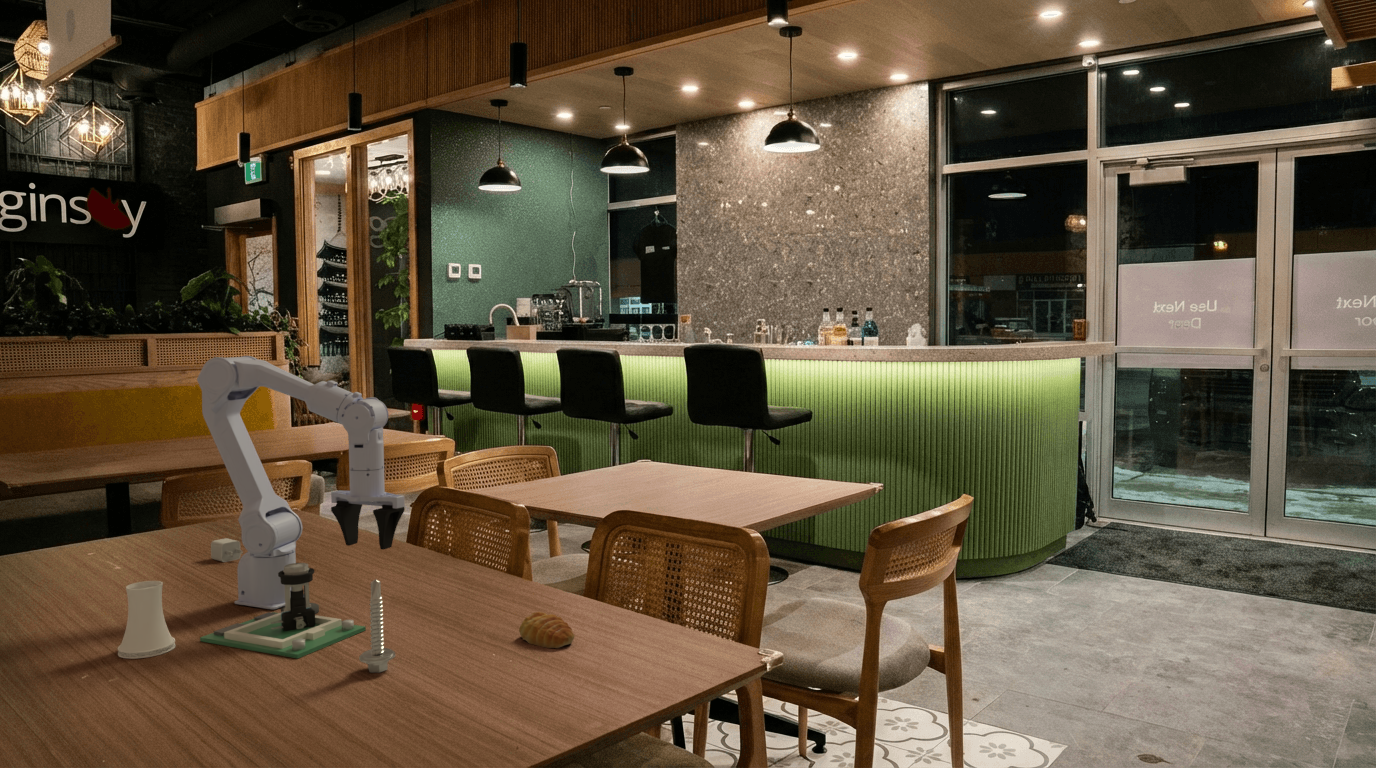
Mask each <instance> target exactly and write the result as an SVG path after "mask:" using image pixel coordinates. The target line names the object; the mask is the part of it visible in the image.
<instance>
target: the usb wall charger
mask: <svg viewBox="0 0 1376 768" xmlns="http://www.w3.org/2000/svg"><path fill="white" fill-rule="evenodd" d="M243 553H244V552H243V550H241V541H239V540H235V539H231V538H226V537H225V538H221V539H214V540H212V541H211V542H210V557H211V559H212V560H215V561H219V562H222V563H228V562H232V561H236V560H240V559H241V557H242V555H244V554H243Z"/></svg>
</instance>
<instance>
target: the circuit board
mask: <svg viewBox="0 0 1376 768" xmlns="http://www.w3.org/2000/svg"><path fill="white" fill-rule="evenodd" d="M283 612H286V611H283ZM281 613H282V612H281V611H280V612H276V611H275V612H274V611H273V612H266V613H263V614H261V615H257V616H254V618H253V619H249V620H247V621H243V622H240V623H239V622H238V623H233V624H230V625H228V626H225V627H222V628H219V629H217V630H214V631H213V632H212V633H208V634H206V635H203V636H201V637H199V640H200V642H201V643H202V642H203V643H209V644H215V645H220V646H225V647H230V648H235V649H236V648H237V649H243V650H246V651H248V650H249V651H253V652H258V653H259V652H260V653H263V654H264V653H265V654H271V655H277V656H282V657H286V658H287V657H288V658H293V659H300V658H303V657H305V656H307V655H309V654H312V653H314V652H317V651H319V650H322V649H324V648H326V647H329V646H332V645H334V644H336V643H338V642H341V641H343V640H345V639H348V638H350V637H353V636H355V635H358V634H360V633H362V632H364V631H366V630H367V629H366V627H367V626H364V625H359V624H358V625H357V624H355V623H354V619H344V620H342V619H341V618H336V617H329V616H323V615H318V614H315V626H314V627H306V628H302V629H295V630H290V631H284V630H283V629H282V628H280V629H273V630H272V629H271V628H274V627H278V626H281V623H276V622H275V621H279V620H281ZM271 622H274V623H275V624H271Z"/></svg>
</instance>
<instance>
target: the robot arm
mask: <svg viewBox="0 0 1376 768" xmlns="http://www.w3.org/2000/svg"><path fill="white" fill-rule="evenodd" d="M196 380H197V383H198V385H199V388H200V389H201V400H202V401H201V402H202V403H201V407H202V408H201V409H202V410H201V411H202V416H203V419H204V422H205V423H206V426H207V428H208V430H209V432H210V433H209V434H210V435H211V437H212V438H213V442H214V444H215V445H216V448H217V450H218V453H219V455H220V457H221V459H222V462H223V464H224V466H225V468H226V471H227V472H228V476H229V477H230V480H231V482H232V484H233V486H234V489H235V491H236V494H237V495H238V497H239V500H240V502H241V504H242V510H241V511H240V514H239V516H238V520H237V521H238V523H239V525H240V528H241V542H242V545H243V547H244V548H245V550H246V551H247V552H245V553H244V554H242V555H241V557H240V559H239V562H238V564H237V570H236V571H237V594H238V599H237V600H235V601H233V602H234V604H235V605H240V606H248V607H254V608H260V609H267V610H277V609H280V608H283V607H285V585H284V584H281V579H280V577H279V576H278V573H279V572H280V571H283V570H284V566H285V565H288V564H292V563H297V560H296V559H297V557H296V548H297V541H298V540H299V539H300V537H301V536H302V533H303V522H302V519H301V517H299V514H297V513H295V512H294V511H293V510H292V508H291V506H290V505H289V503H288V501H287V500H286V499H284V498H283V497H281V496H279V495H278V494H277V493H276V492H275V491H274V489H273V486H272V483H271V481H270V479H269V477H268V474H267V473H266V470H265V468H264V465H263V464H262V461H261V459H260V457H259V455H258V453H257V450H256V447H255V445H254V443H253V441H252V438H251V437H250V434H249V432H248V429H247V428H246V425H245V423H244V421H243V419H242V416H241V412H242V410H243V408H244V405H245V403H246V401H247V400H248V399H249V398H250V397H251V396H253V394H254V393H255V392H256V391H257V390H258V389H259V388H260V387H263V388H267V389H270V390H272V391H275V392H279V393H280V394H283V395H286V396H290V397H291V398H294V399H298V400H300V401H302V402H305V405H306V407H307V409H308V411H309V412H311V413H313V414H315V415H318V416H321V417H323V418H325V419H328V420H331V421H333V422H335V423H337V424H340V425H342V427H343V428H344V430H345V431H346V433H347V438H348V439H347V440H348V462H349V463H348V467H349V471H348V472H349V490H335V491H334V490H333V491H331V494H330V495H331V498H330V499H331V504H335V505H334V506H331V508H330V511H331V513H332V514H333V516H334V517H335V519H336V521H337V522H338V525H339V528H340V529H341V532H342V535H343V539H344V542H345V546H347V547H348V546H353V545H355V544H356V545H357V544H358V542H359V541H358V539H359V521H360V516H361V510H362V507H363V505H364V506H375V507H379V508H376V509H373V510H372V513H373V515H374V518H375V522H376V525H377V530H378V544H379V549H380V550H386V549H390V548H392V546H393V542H394V538H395V534H396V530H397V527H398V524H399V522H400V520H401V518H402V516H403V514H404V513H405V506H406V505H405V501H406V500H405V499H406V498H405V495H404V494H403V495H401V494H397V493H396V494H395V493H393V492H387V491H386V488H385V448H384V446H385V444H384V443H385V442H384V427H385V426H386V424H387V423H388V420H389V410H388V407H387V406H386V404H385V403H384V402H383V401H381V400H379V399H378V398H377V397H375V396H374V397H373V396H371V397H366V398H364V397H363V396H362V395H363V394H362V393H361V392H358V391H355V392H351V391H349V390H346V389H345V388H342V387H339V386H338V385H339V383H338V382H337V381H335V380H327V381H325V380H322V381H319V382H317V383H315V384H314V383H312V382H310V381H307V380H305V379H303V378H301V377H300V376H297V375H295V374H293V373H291V372H289V371H287V370H285V369H282V368H281V367H278V366H276V365H274V364H272V363H270V362H269V361H266V360H264V359H258V358H257V357H254V356H251V355H242V356H236V357H235V356H231V357H222V356H221V357H219V356H218V357H217V356H216V357H212V358H210V359H208V360H207V361H206V362H205V363H204V364H203V366H202V368H201V370H200V372H199V374H198V376H197V379H196ZM380 507H381V508H380ZM290 591H291V587H290ZM290 598H291V593H290Z"/></svg>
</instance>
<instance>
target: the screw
mask: <svg viewBox="0 0 1376 768" xmlns="http://www.w3.org/2000/svg"><path fill="white" fill-rule="evenodd" d="M381 587H382V586H381V581H380V580H379V579H377V578H374V580H372V581H371V582H370V599H369V601H370V603H369V604H368V605H369V606H370V607H369V608H368V609H369V610H370V612H369V614H370V616H369V618H370V620H369V622H370V624H369V626H370V628H369V630H370V631H371V632H370V633H369V634H370V635H371V636H370V637H369V638H370V640H369V641H370V643H371V644H370V645H369V646H370V647H371V649H367V650H365V651H364V652H362V653H361V654H360V655H359V656H358V657H359V661H360V662H361V663H365V664H366V665H367V670H368V671H369V673H373V674H375V673H376V674H378V673H382V672H385V671H388V667H389V666H388V663H389V661H391V660H393V659H395V658H396V652H395V651H394V650H393V649H391V648H387V647H385V645H384V644H385V641H384V640H385V637H384V634H385V633H384V627H385V626H384V622H385V621H384V620H383V619H384V616H383V615H384V612H383V611H384V608H383V606H384V604H383V602H384V601H383V595H382V594H381V593H382V589H381Z"/></svg>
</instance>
